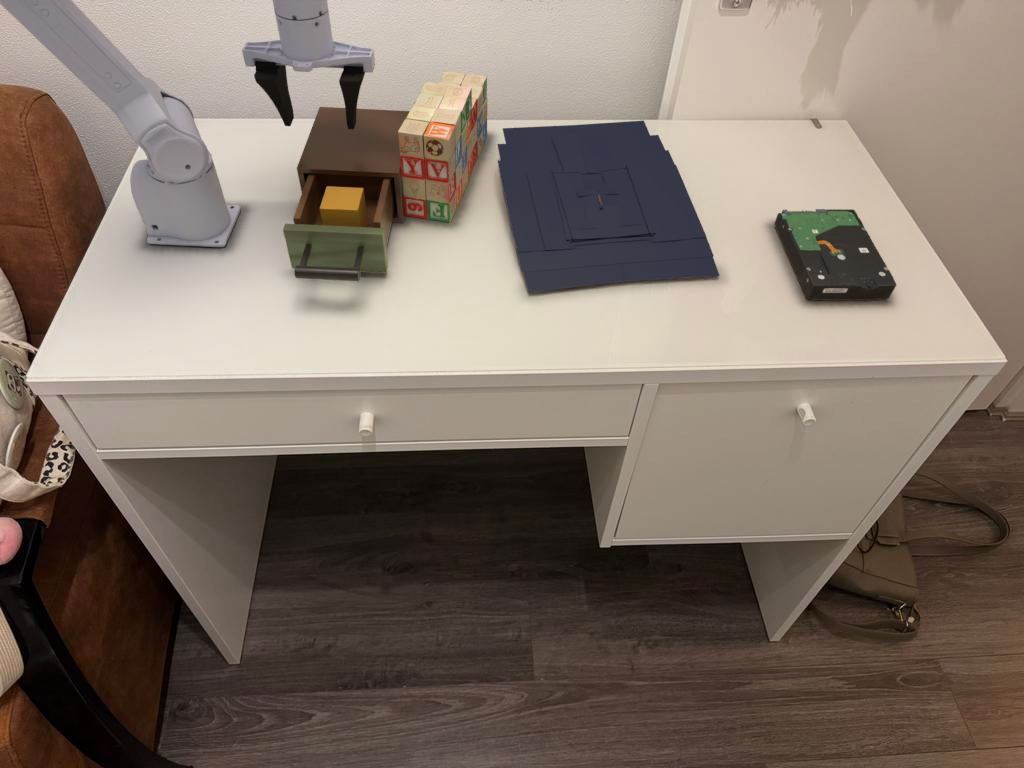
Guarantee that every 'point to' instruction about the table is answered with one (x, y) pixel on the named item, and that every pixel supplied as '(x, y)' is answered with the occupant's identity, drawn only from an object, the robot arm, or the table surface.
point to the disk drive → (834, 255)
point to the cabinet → (356, 148)
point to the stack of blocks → (442, 144)
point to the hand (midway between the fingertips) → (320, 123)
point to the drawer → (340, 231)
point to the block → (344, 207)
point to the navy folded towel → (599, 207)
